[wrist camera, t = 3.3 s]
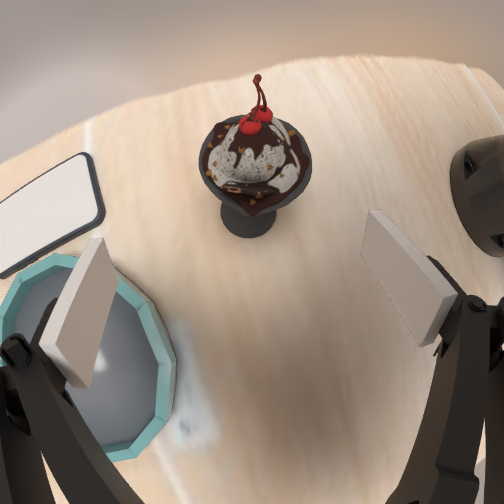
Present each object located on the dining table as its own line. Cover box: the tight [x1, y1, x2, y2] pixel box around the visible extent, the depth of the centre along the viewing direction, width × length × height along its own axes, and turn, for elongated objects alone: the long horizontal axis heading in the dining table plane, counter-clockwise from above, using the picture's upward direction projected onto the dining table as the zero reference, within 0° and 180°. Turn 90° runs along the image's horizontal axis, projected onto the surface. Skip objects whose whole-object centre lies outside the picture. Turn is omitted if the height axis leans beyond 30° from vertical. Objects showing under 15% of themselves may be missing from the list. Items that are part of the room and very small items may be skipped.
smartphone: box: [0, 152, 105, 279], centre depth 25 cm, size 9×2×16 cm
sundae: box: [199, 74, 312, 238], centre depth 19 cm, size 7×7×15 cm
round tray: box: [0, 253, 176, 462], centre depth 22 cm, size 19×19×3 cm
